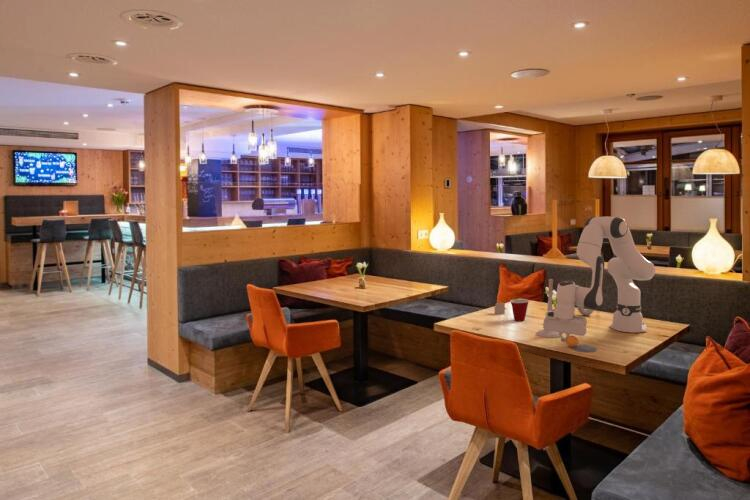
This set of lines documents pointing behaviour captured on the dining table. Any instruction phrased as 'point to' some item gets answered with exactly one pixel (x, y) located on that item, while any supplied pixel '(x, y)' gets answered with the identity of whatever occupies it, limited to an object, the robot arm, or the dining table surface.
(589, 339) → the dining table surface
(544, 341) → the dining table surface
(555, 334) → the candlestick
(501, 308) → the architectural model
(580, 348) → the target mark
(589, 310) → the donut
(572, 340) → the ball
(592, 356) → the dining table surface
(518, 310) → the plastic cup
